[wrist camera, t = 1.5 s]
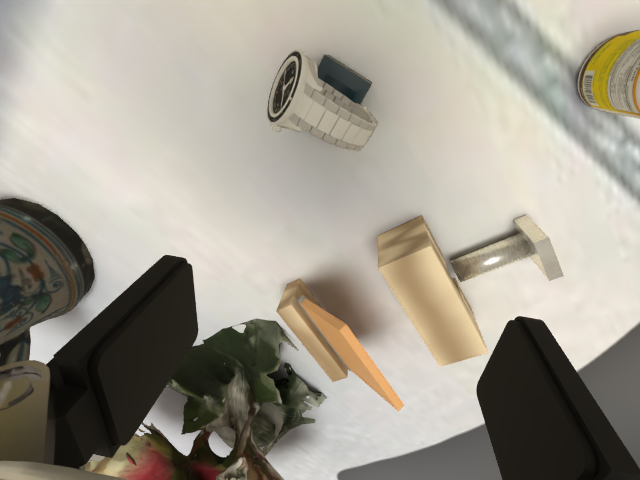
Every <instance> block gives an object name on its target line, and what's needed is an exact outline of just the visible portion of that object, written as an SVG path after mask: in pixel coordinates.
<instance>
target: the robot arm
mask: <svg viewBox="0 0 640 480" xmlns="http://www.w3.org/2000/svg"><path fill="white" fill-rule="evenodd" d="M197 334H198V323H197V312H196V302H195V291H194V281H193V270H192V266H191V264H188V263H187V260H186V259H185V258H182V257H176V256H170V255H165V256H163V257H162V258H161V259H160V260H158V261H157V262H156V263H155V264H154V265H153V266H152V267H151V268H150V269H148V270H147V271H146V272H145V273H144V274H143V275H142V276H141V277H140V278H139V279H137V280H136V281H135V282H134V283H133V284H132V285H131V286H130V287H129V288H127V289H126V290H125V291H124V292H123V293H122V294H121V295H120V296H119V297H118V298H116V299H115V300H114V301H113V302H112V303H111V304H110V305H109V306H108V307H106V308H105V309H104V310H103V311H102V312H101V313H100V314H99V315H98V316H97V317H95V318H94V319H93V320H92V321H91V322H90V323H89V324H88V325H87V326H85V327H84V328H83V329H82V330H81V331H80V332H79V333H78V334H77V335H76V336H74V337H73V338H72V339H71V340H70V341H69V342H68V343H67V344H66V345H64V346H63V347H62V348H61V349H60V350H59V351H58V352H57V353H56V354H55V355H53V356H54V358H53V359H52V360H51V361H50V362H48V363H47V364H46V365H45V364H44V363H42V362H39V361H35V360H24V361H19V362H14V363H10V364H7V365H4V366H2V367H0V480H128V479H123V478H119V477H114V476H109V475H104V474H99V473H94V472H89V471H85V464H86V463H87V462H88V461H89V459H90V458H91V456H92V455H93V454H96V455H100V456H105V457H109V458H113V456H114V455H115V453H116V452H117V450H118V449H119V447H120V446H124V445H126V444H127V443H128V442H129V441H130V440H131V438H132V437H133V435H134V434H135V432H136V431H137V429H138V428H139V426H140V425H141V423H142V422H143V420H144V419H145V417H146V415H147V414H148V412H149V411H150V409H151V408H152V406H153V405H154V403H155V402H156V400H157V399H158V397H159V396H160V394H161V392H162V391H163V389H164V388H165V386H166V385H167V383H168V382H169V380H170V379H171V377H172V376H173V374H174V373H175V371H176V370H177V368H178V366H179V365H180V363H181V362H182V360H183V359H184V357H185V356H186V354H187V353H188V351H189V350H190V348H191V347H192V345H193V343H194V342H195V340H196V338H197ZM477 397H478V400H479V404H480V407H481V410H482V414H483V417H484V420H485V423H486V426H487V430H488V433H489V436H490V440H491V443H492V446H493V450H494V453H495V456H496V460H497V463H498V466H499V469H500V473H501V476H502V479H503V480H640V469H639V467H638V466H637V464H636V462H635V461H634V459H633V458H632V456H631V455H630V453H629V452H628V450H627V449H626V447H625V446H624V444H623V442H622V441H621V439H620V438H619V437H618V435H617V434H616V432H615V430H614V429H613V427H612V426H611V424H610V422H609V421H608V420H607V418H606V416H605V415H604V413H603V412H602V410H601V409H600V407H599V406H598V404H597V402H596V401H595V399H594V398H593V396H592V395H591V393H590V392H589V390H588V389H587V387H586V386H585V384H584V383H583V381H582V379H581V378H580V377H579V375H578V373H577V372H576V370H575V369H574V367H573V366H572V364H571V363H570V361H569V359H568V358H567V356H566V355H565V353H564V352H563V350H562V349H561V347H560V346H559V344H558V343H557V341H556V339H555V338H554V336H553V335H552V333H551V332H550V330H549V329H548V327H547V326H546V324H545V323H544V322H543V321H542V320H539V319H533V318H527V317H522V316H518V317H516V318H515V320H510V321H509V322H508V323H507V325H506V327H505V329H504V331H503V333H502V335H501V337H500V339H499V341H498V343H497V345H496V347H495V349H494V351H493V353H492V355H491V357H490V359H489V361H488V363H487V365H486V367H485V369H484V371H483V373H482V375H481V377H480V379H479V381H478V384H477Z"/></svg>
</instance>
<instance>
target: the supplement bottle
mask: <svg viewBox="0 0 640 480" xmlns="http://www.w3.org/2000/svg"><path fill="white" fill-rule="evenodd" d="M578 91H579V95H580V97H581V99H582V100H583V101H584V102H585V103H586V104H587V105H588V106H590V107H591V108H594V109H597V110H601V111H605V112H610V113H615V114H620V115H625V116H630V117H635V118H640V30H636V31H631V32H626V33H622V34H619V35H616V36H614V37H612V38H610V39H608V40H606V41H605V42H603V43H602V44H600V45H599V46H598V47H597V48H596V49H595V50H594V51H593V52H592V53H591V54H590V55H589V56H588V58H587V59H586V61H585V62H584V64H583V66H582V68H581V70H580V73H579V77H578Z"/></svg>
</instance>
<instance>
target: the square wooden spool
mask: <svg viewBox="0 0 640 480" xmlns="http://www.w3.org/2000/svg"><path fill="white" fill-rule="evenodd" d="M378 269H379V270H380V272H381V273H382V275H383V277H384V278H385V280H386V281H387V283H388V285H389V286H390V288H391V289H392V291H393V293H394V294H395V296H396V297H397V299H398V301H399V302H400V304H401V306H402V307H403V309H404V310H405V312H406V314H407V315H408V317H409V318H410V320H411V322H412V323H413V325H414V326H415V328H416V330H417V331H418V333H419V334H420V336H421V338H422V339H423V341H424V342H425V344H426V346H427V347H428V349H429V351H430V352H431V354H432V355H433V357H434V359H435V360H436V362H437V363H438V365H439V367H441V366H444V365H448V364H451V363H455V362H458V361H462V360H465V359H469V358H472V357H476V356H479V355H482V354H486V353H488V350H487V348H486V345H485V343H484V340H483V337H482V335H481V332H480V330H479V327H478V325H477V322H476V319H475V317H474V314H473V312H472V309H471V308H470V306H469V304H468V302H467V300H466V298H465V296H464V294H463V292H462V291H461V289H460V287H459V285H458V283H457V281H456V279H455V278H454V279H452V278H451V276H450V274H449V272H448V270H447V267H446V264H445V261H444V259H443V256H442V253H441V251H440V249H439V247H438V245H437V243H436V242H435V240H434V238H433V236H432V234H431V232H430V230H429V228H428V226H427V225H426V223H425V221H424V219H423V217H422V215H421V216H419V217H417V218H415V219H413V220H411V221H409V222H406V223H404V224H402V225H400V226H398V227H396V228H393V229H391V230H389V231H387V232H385V233H383V234H381V235H378ZM302 295H304V296H305V297H306V299H308V300H309V301H311V302H312V303H314V304H315V305H317V306H319V307H320V308H322V307H321V306H320V305H319V303H318V302H317V301H316V299H315V298H314V297H313V295H312V294H311V292H310V291H309V290H308V288H307V287H306V286H305V284H304V283H303V282H302V280H301V279H298V280H296V281H294V282H292V283H289V284H287V286H286V288H285V291H284V293H283V296H282V298H281V301H280V303H279V306H278V308H277V313H278V314H279V315H280V316H281V318H282V319H283V320H284V321H285V323H286V324H287V325H288V326H289V328H290V329H291V330H292V331H293V333H294V334H295V335H296V336H297V338H298V339H299V340H300V341H301V343H302V344H303V345H304V346H305V348H306V349H307V350H308V351H309V353H310V354H311V355H312V356H313V358H314V359H315V360H316V361H317V363H318V364H319V365H320V366H321V368H322V369H323V370H324V371H325V373H326V374H327V375H328V376H329V378H330V379H331V380H332V381H333V382H334V381H337V380H341V379H344V378H347V374H348V368H347V367H346V365H345V364H344V363H343V361H342V360H341V359H340V357H339V356H338V355H337V353H336V352H335V351H334V350H333V348H332V347H331V346H330V344H329V343H328V342H327V340H326V339H325V338H324V336H323V335H322V334H321V332H320V331H319V330H318V328H317V327H316V326H315V325H314V323H313V322H312V321H311V319H310V318H309V317H308V315H307V314H306V313H305V311H304V310H303V309H302V307H301V306H300V305H299V303H298V302H297V299H298V298H299V297H300V296H302Z"/></svg>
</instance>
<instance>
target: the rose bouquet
mask: <svg viewBox="0 0 640 480" xmlns="http://www.w3.org/2000/svg"><path fill="white" fill-rule="evenodd" d="M241 324H245V325H246V328H245V330H244V333H239V332H238V331H236V330H234V329H233V328H232V327H233V326H232V327H229V328H226V329H222V330H221V331H220V332H218V333H216V334H215V335H213V336H212V337H210V338H208V339H206V340H203V341H204V345H200V346H197V347H194V348H190V350H189V351H188V353H187V354H186V356H185V357H184V359H183V360H182V362H181V363H180V365H179V366H178V368H177V370H176V371H175V373H174V374H173V376H172V377H171V379H170V380H169V382H168V383H167V385H170V386H168V387H169V388H171V389H173V390H175V391H177V392H179V393H181V394H183V395H185V396H187V397H188V399H187V400H188V401H187V403H186V404H185V406H184V420H183V421H184V425H183V430H182V433H181V434H185V433H192V432H195V431H198V430H201V432H200V433H199V434H198V436H197V437H196V438H195V440H194V442H193V447H192V450H191V452H190V454H189V455H188V456H185V455H183V454H182V453H180V452H179V451H178V450H177V449H176V448H175V447H174V446H173V445H172V444H171V443H170V442H169V441H168V439H167V438H166V437H165V436H164V435H163V434H162V433H161V432H160V430H158V429H156V428H155V426H154V425H153V424H152V423H151V426H147V425H145V424H144V423H143V422H142V425H144V427H145V428H147V429H148V430H149V431H150V432H151V433H152V434H149V433H144V435H142V436H139V435H137V434H135V435H133V437H132V438H131V440H130V441H129V442H128V443H127V444H126V445H124V446H120V447H119V449H118V450H117V452H116V453H115V455H114V456H113V458H109V457H105V458H104V459H103V460H101V461H98V462H97V461H90V462H88V463H86V464H85V471H89V472H94V473H99V474H104V475H109V476H114V477H119V478H123V479H128V480H284V479H283V478H282V477H281V476H280V475H279V473H278V472H277V471H276V470H275V469H274V468H273V467H272V465H271V464H270V463H269V462H268V461H267V459H266V458H265V455H266V454H267V453H268V452H269V451H270V450H271V448H272V446H273V445H274V444H275V443H276V442H277V440H278V439H280V438H281V437H282V436H283V435H284V434H285V433H287V432H288V431H289V430H290V429H292V428H295V427H297V426H299V425H301V424H309V423H315V422H314V421H315V419H311V418H304V417H302V414H301V413H303V412H305V411H306V410H311V409H312V407H311V406H309V405H308V404H306V403H304V402H303V401H306V402H309V403H311V404H312V405H314V406H316V407H319V406H320V404H321V403H322V402H323V401H324V400H325V399H326V397H325V396H324V394H323V393H313V392H311V391H309V390H308V388H307V386H306V384H305V383H304V382H303V381H302V380H301V379H299V378H298V377H297V376H296V374H295V373H294V371H293V370H292V368H291V366H290V365H289V364H288V363H285V365H284V369H285V372H286V373H287V375H288V379H289V383H287V382H286V381H285V380H284V379H283V380H282V381H280V382H279V383H274V379H271V378H269V377H268V376H267V374H268V373H270V374H271V372H275V371H276V370H278V368H279V366H280V364H281V361H282V360H281V358H280V354H279V343H282V341H285V342H287V343H288V344H289V345H291V346H292V347H294V348H295V349H297V348H296V346H295V345H294V344H293V343H292V342H291V340H290V339H289V338H288V337H287V336H286V335H285V333H284V332H283V331H282V330H281V329H280V327H279V326H278V324H277V322H276V321H265V320H260V319H254V320H251V321H248V322H244V323H241ZM238 325H239V324H238ZM235 326H236V325H235ZM297 350H298V349H297ZM224 363H225V364H224ZM225 365H226V366H225ZM289 367H290V368H291V370H290V369H289ZM165 388H166V387H165ZM306 396H309V397H310V399H307V398H306ZM197 416H198V419H197V420H196V421H193V420H194V419H195V418H196V417H197ZM138 430H139V431H141V432H145V431H142V430H141V429H139V428H138ZM214 430H215V432H216V433H218V435H219V436H220V437H221V438H222V439H223V441H224V442H225V443H226V444H227V445H228V446H229V447H231V448H233V450H232V451H231V453H230V455H229V456H227V457H220V456H218V455H216V454H215V453H214V452H213V451H212V450H211V449H210V446H209V443H208V438H209V436H210V434H211V433H212V432H213V431H214ZM262 446H266V447H264V448H263V450H261V449H260V448H259V447H262Z"/></svg>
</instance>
